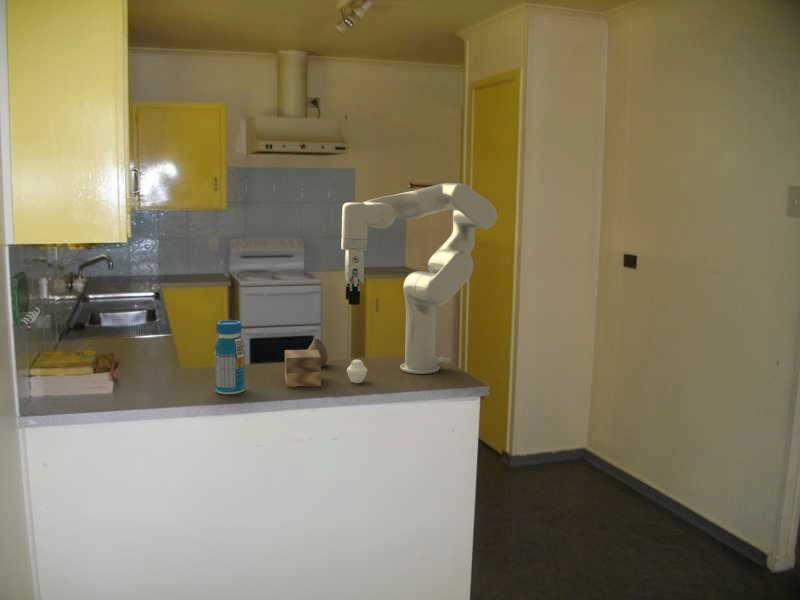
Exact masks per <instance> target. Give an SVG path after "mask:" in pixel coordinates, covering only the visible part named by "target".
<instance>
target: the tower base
mask: <svg viewBox="0 0 800 600" xmlns="http://www.w3.org/2000/svg"><path fill="white" fill-rule="evenodd" d="M284 381H285V384H286V385H285V387H286V386H287V387H286V388H298V387H297V386H306V387H321V386H322V371H321V372H304V373H286V368H285V367H284Z"/></svg>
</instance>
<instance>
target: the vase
mask: <svg viewBox="0 0 800 600" xmlns="http://www.w3.org/2000/svg"><path fill="white" fill-rule="evenodd" d="M316 349H318V351H319V353H320V356H321V368H323V367H324V366H325V365H326V364H327V362H328V359H329V353H328V349H327V347H326V345H325V344H324V343H323V340H322V339H320V338H314V339H313V340H312V342H311V344H310V345H309V347H307V350H316Z"/></svg>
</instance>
